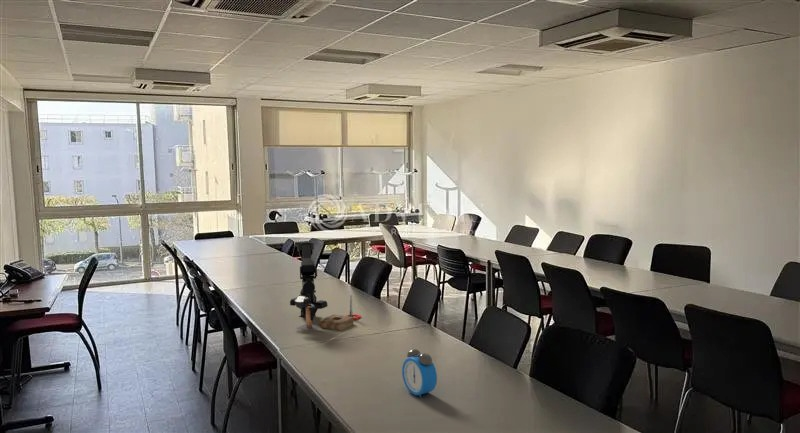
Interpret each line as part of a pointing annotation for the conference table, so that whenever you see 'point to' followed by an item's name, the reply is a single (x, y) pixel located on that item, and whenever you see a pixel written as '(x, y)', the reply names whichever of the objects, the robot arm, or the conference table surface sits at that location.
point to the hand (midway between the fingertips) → (308, 320)
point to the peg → (308, 318)
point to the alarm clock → (419, 373)
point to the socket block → (336, 322)
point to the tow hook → (352, 311)
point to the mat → (308, 328)
